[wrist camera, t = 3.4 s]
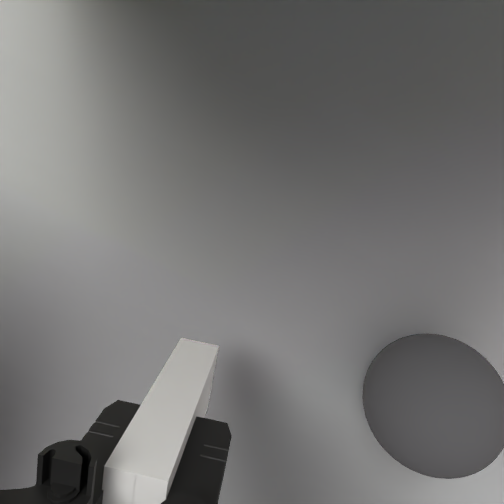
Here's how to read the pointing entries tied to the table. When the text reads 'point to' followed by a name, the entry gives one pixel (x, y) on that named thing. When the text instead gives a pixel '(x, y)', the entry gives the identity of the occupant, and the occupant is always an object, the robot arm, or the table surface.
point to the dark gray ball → (435, 406)
